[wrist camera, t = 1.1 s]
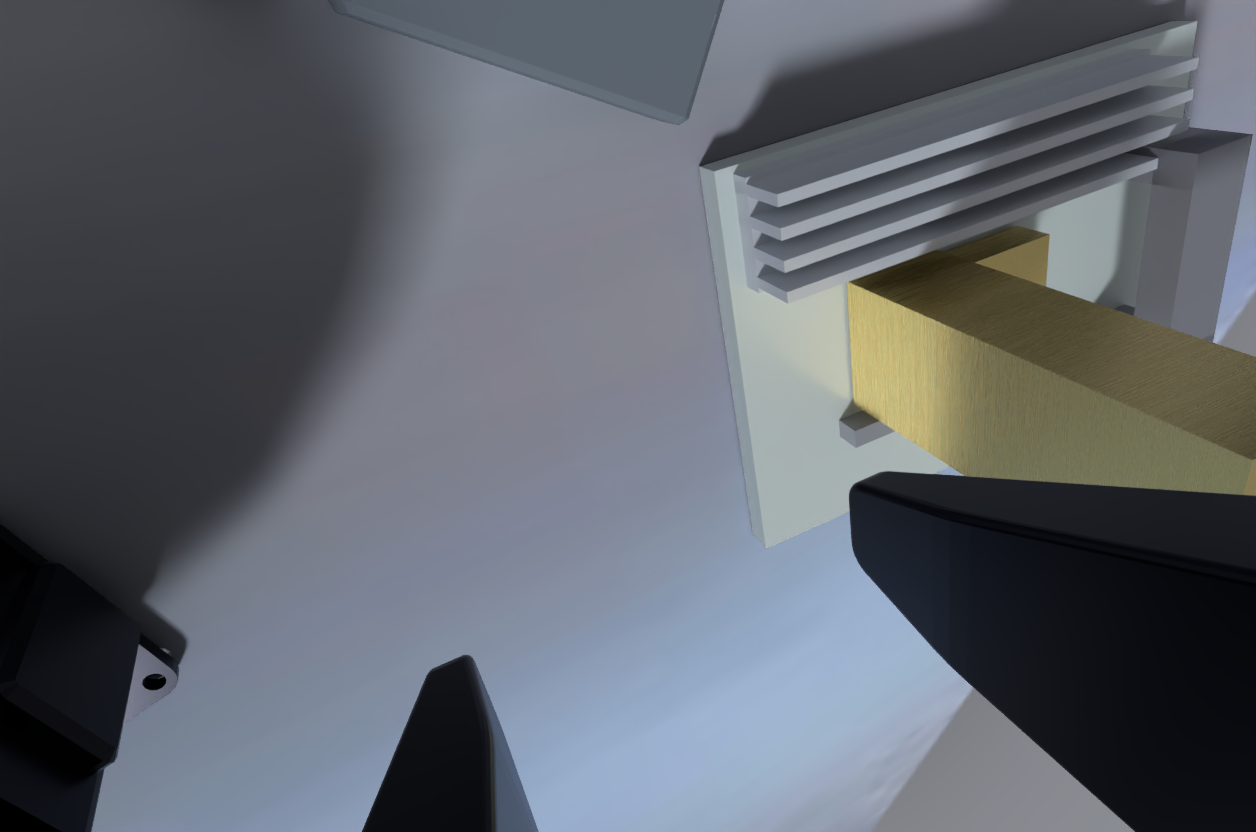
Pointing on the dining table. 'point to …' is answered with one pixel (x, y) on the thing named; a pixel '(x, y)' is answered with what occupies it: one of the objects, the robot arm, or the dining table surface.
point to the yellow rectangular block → (1045, 376)
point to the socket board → (956, 239)
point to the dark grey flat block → (570, 43)
